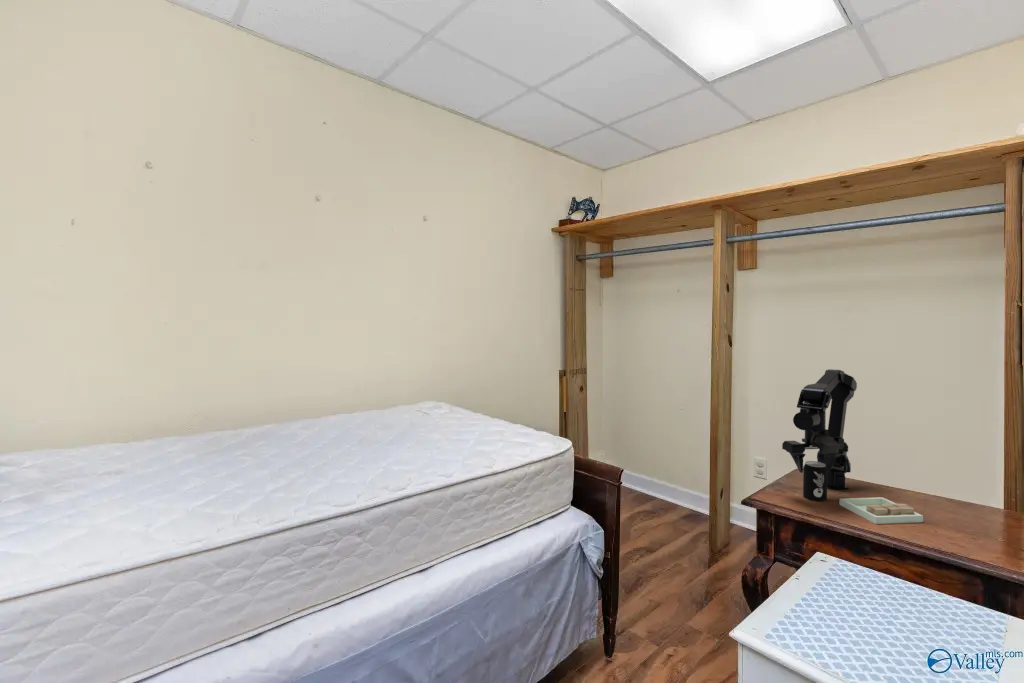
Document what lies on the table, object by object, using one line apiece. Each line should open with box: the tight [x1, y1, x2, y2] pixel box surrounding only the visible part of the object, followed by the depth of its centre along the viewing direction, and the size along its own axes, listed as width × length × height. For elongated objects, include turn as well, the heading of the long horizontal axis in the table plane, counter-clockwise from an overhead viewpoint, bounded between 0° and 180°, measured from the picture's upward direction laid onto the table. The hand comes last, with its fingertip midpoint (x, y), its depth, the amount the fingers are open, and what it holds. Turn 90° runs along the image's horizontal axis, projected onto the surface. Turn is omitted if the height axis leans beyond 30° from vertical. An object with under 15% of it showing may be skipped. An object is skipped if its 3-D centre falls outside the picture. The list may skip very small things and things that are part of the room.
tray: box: [839, 496, 924, 525], centre depth 140 cm, size 14×14×2 cm
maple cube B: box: [880, 504, 901, 515], centre depth 136 cm, size 4×4×4 cm
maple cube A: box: [866, 505, 888, 516], centre depth 136 cm, size 4×4×4 cm
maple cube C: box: [893, 503, 915, 515], centre depth 137 cm, size 4×4×4 cm
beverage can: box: [802, 460, 828, 502], centre depth 153 cm, size 7×7×12 cm
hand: (814, 471), depth 152 cm, fingers open, 9 cm apart
